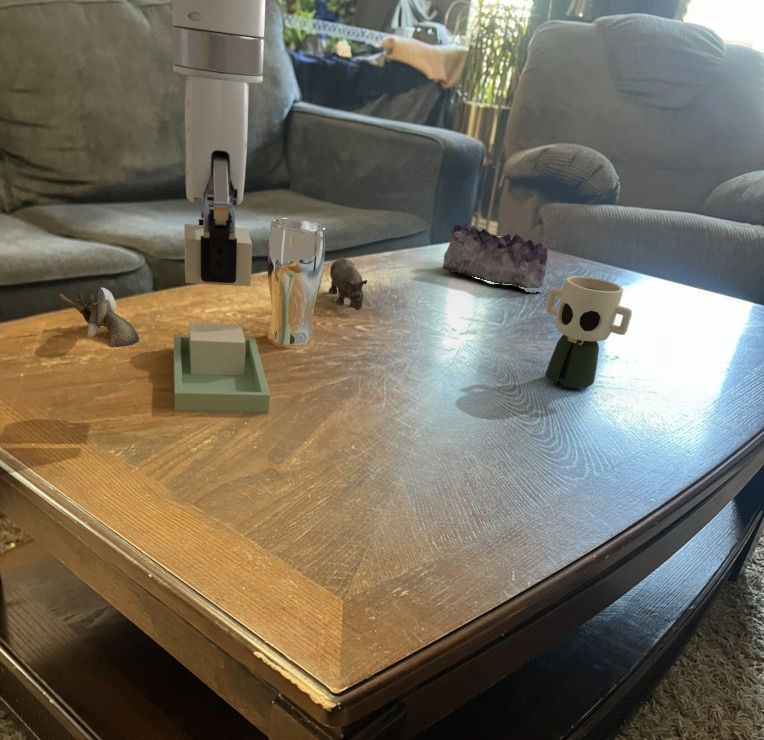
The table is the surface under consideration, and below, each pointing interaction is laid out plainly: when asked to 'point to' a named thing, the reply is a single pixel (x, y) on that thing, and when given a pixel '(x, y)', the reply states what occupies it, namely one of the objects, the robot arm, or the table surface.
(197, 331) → the beige block
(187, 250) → the light grey rectangular block
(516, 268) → the geode
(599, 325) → the character mug
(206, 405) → the frame tray
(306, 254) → the beer glass
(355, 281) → the rhino figurine
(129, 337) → the deer head bust
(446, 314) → the table surface
